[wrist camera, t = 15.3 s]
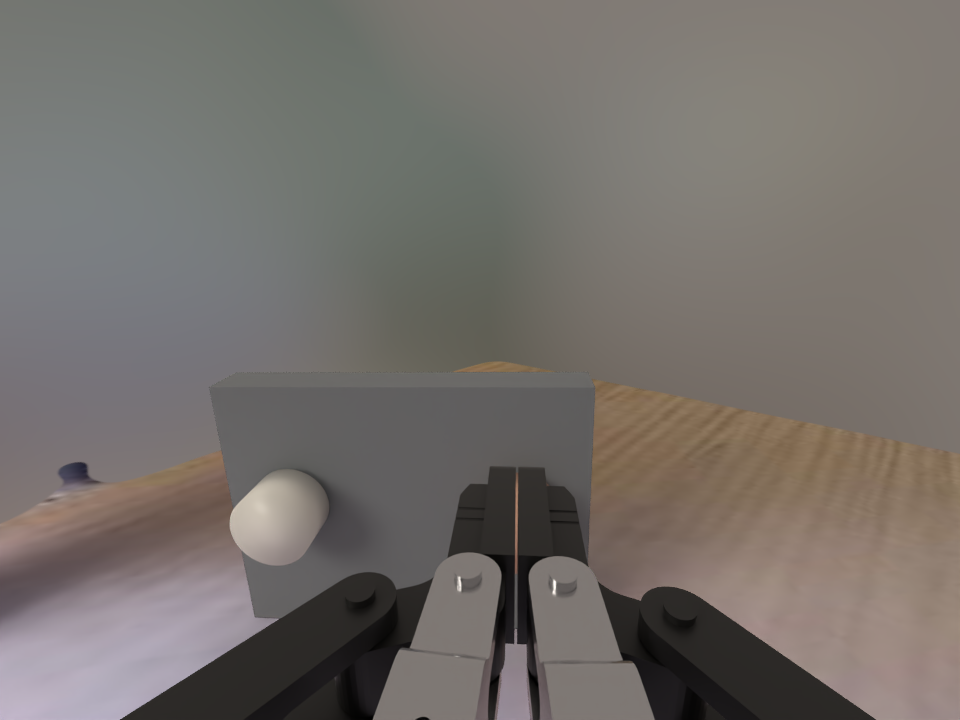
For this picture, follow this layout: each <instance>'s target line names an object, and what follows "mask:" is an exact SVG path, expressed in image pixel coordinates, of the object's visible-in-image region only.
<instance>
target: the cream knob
mask: <svg viewBox="0 0 960 720" xmlns="http://www.w3.org/2000/svg"><path fill="white" fill-rule="evenodd" d="M328 514H329V501H328V497H327V494H326V492H325V490H324V489H323V488H322V486H321V485H320V484H319V483H318V482H317V481H316V480H315V479H314V478H312V477H311V476H309V475H308V474H306V473H303V472H301V471H298V470H293V469H281V470H276V471H273V472H271V473H269V474H268V475H266V476H265V477H264V478H263V479H262V480H261V481H260V482H259V483H258V484H257V485H256V486H255V487H254V488H253V489H252V490H251V491H250V492H249V493H248V494H247V495H246V496H245V497H244V498H243V499H242V500H241V501H240V502H239V503H238V504H237V505H236V507H235V508H234V509H233V511H232V514H231V517H230V530H231V534H232V537H233V539H234V541H235V542H236V544H237V545H238V547H239V548H240V549H241V550H242V551H243V552H244V553H245V554H246V555H248V556H249V557H251V558H252V559H254V560H256V561H258V562H260V563H263V564H267V565H274V566H281V565H287V564H291V563H293V562H295V561H297V560H298V559H300V558H301V557H302V556H303V555H304V554H305V552H306V551H307V549H308V548H309V546H310V545H311V543H312V541H313V540H314V538H315V537H316V535H317V534H318V532H319V531H320V529H321V527H322V526H323V524H324V523H325V521H326V520H327V517H328Z"/></svg>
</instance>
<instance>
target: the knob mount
mask: <svg viewBox="0 0 960 720" xmlns="http://www.w3.org/2000/svg"><path fill="white" fill-rule="evenodd" d="M209 390H210V395H211V400H212V404H213V409H214V415H215V419H216V425H217V430H218V435H219V440H220V444H221V450H222V455H223V460H224V465H225V470H226V475H227V480H228V485H229V490H230V495H231V500H232V505H233V509H234V508H235V507H236V505H237V504H238V503H239V502H240V501H241V500H242V499H243V498H244V497H245V496H246V495H247V494H248V493H249V492H250V491H251V490H252V489H253V488H254V487H255V486H256V485H257V484H258V483H259V482H260V481H261V480H262V479H263V478H264V477H265V476H266V475H268V474H269V473H271V472H273V471H276V470H281V469H293V470H298V471H301V472H303V473H306V474H308V475H309V476H311V477H312V478H314V479H315V480H316V481H317V482H318V483H319V484H320V485H321V486H322V488H323V489H324V490H325V492H326V494H327V497H328V501H329V514H328V517H327V520H326V521H325V523H324V524H323V526H322V527H321V529H320V531H319V532H318V534H317V535H316V537H315V538H314V540H313V541H312V543H311V545H310V546H309V548H308V549H307V551H306V552H305V554H304V555H303V556H302V557H301V558H300V559H298V560H297V561H295V562H293V563H291V564H287V565H281V566H274V565H267V564H263V563H260V562H258V561H256V560H254V559H252V558H251V557H249V556H248V555H246V554H245V553H244V552H243V551H242V555H243V560H244V565H245V570H246V575H247V580H248V585H249V590H250V595H251V600H252V605H253V610H254V615H255V617H264V618H282V617H284V616H285V615H287V614H288V613H290V612H292V611H293V610H295V609H296V608H298V607H300V606H301V605H303V604H304V603H306V602H307V601H309V600H311V599H312V598H314V597H315V596H317V595H319V594H320V593H322V592H323V591H325V590H327V589H328V588H330V587H331V586H333V585H334V584H336V583H338V582H339V581H341V580H343V579H344V578H346V577H348V576H351V575H354V574H357V573H363V572H376V573H380V574H383V575H385V576H387V577H388V578H390V579H391V580H392V581H393V583H394V585H395V587H396V590H397V589H401V588H406V587H411V586H415V585H419V584H422V583H424V582H426V581H428V580H430V579H432V578H433V577H434V575H435V572H436V570H437V568H438V566H439V565H440V564H441V563H442V562H443V561H444V560H446V559H447V556H448V552H449V547H450V542H451V537H452V532H453V527H454V522H455V519H456V513H457V510H458V503H459V498H460V494H461V493H462V492H463V491H464V490H465V489H466V488H467V487H468V485H469V484H488V477H489V469H490V466H511V467H516V473H518V467H545V475H546V483H547V484H548V485H549V486H565V488H566V489H567V490H568V491H569V492H570V493H571V494H572V496H573V497H574V498H575V502H576V507H577V514H578V518H579V525H580V528H581V533H582V538H583V543H584V548H585V553H586V558H587V563H588V542H589V519H590V496H591V473H592V450H593V427H594V404H595V386H594V384H593V382H592V379H591V377H590V375H589V373H588V372H366V373H365V372H362V373H361V372H360V373H359V372H352V373H351V372H350V373H349V372H348V373H347V372H345V373H344V372H335V373H334V372H333V373H331V372H328V373H326V372H320V373H235V374H233V375H231V376H229V377H227V378H225V379H223V380H222V381H220V382H218V383H216V384H214V385H212V386H211V387H209ZM514 628H517V574H515V618H514Z"/></svg>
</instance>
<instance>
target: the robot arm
mask: <svg viewBox="0 0 960 720" xmlns="http://www.w3.org/2000/svg"><path fill="white" fill-rule="evenodd" d="M515 514H516V467H511V466H490V469H489V477H488V484H469V485H468V487H467V488H466V489H465V490H464V491H463V492H462V493H461V494H460V498H459V503H458V510H457V513H456V519H455V522H454V527H453V532H452V537H451V542H450V547H449V552H448V556H447V559H446V560H444V561H443V562H442V563H441V564H440V565H439V566H438V568H437V570H436V572H435V575H434V577H433V578H432V579H430V580H428V581H426V582H424V583H422V584H419V585H415V586H411V587H406V588H401V589H397V590H396V587H395V585H394V583H393V581H392V580H391V579H390V578H388V577H387V576H385V575H383V574H380V573H376V572H363V573H357V574H354V575H351V576H348V577H346V578H344V579H343V580H341V581H339V582H338V583H336V584H334V585H333V586H331V587H330V588H328V589H327V590H325V591H323V592H322V593H320V594H319V595H317V596H315V597H314V598H312V599H311V600H309V601H307V602H306V603H304V604H303V605H301V606H300V607H298V608H296V609H295V610H293V611H292V612H290V613H288V614H287V615H285V616H284V617H282V618H281V619H279V620H277V621H276V622H274V623H273V624H271V625H269V626H268V627H266V628H265V629H263V630H261V631H260V632H258V633H257V634H255V635H254V636H252V637H250V638H249V639H247V640H246V641H244V642H242V643H241V644H239V645H238V646H236V647H234V648H233V649H231V650H230V651H228V652H227V653H225V654H223V655H222V656H220V657H219V658H217V659H215V660H214V661H212V662H211V663H209V664H208V665H206V666H204V667H203V668H201V669H200V670H198V671H196V672H195V673H193V674H192V675H190V676H188V677H187V678H185V679H184V680H182V681H181V682H179V683H177V684H176V685H174V686H173V687H171V688H169V689H168V690H166V691H165V692H163V693H162V694H160V695H158V696H157V697H155V698H154V699H152V700H150V701H149V702H147V703H146V704H144V705H142V706H141V707H139V708H138V709H136V710H135V711H133V712H131V713H130V714H128V715H127V716H125V717H123V718H122V719H120V720H497V714H498V705H499V696H500V688H501V670H502V668H503V665H504V660H505V643H508V644H514V618H515ZM517 644H527V690H528V700H529V711H530V720H876V719H874V718H873V717H871V716H870V715H869V714H867V713H866V712H864V711H863V710H861V709H860V708H858V707H857V706H856V705H854V704H853V703H851V702H850V701H848V700H847V699H845V698H844V697H843V696H841V695H840V694H838V693H837V692H835V691H834V690H832V689H831V688H830V687H828V686H827V685H825V684H824V683H822V682H821V681H820V680H818V679H817V678H815V677H814V676H812V675H811V674H809V673H808V672H807V671H805V670H804V669H802V668H801V667H799V666H798V665H796V664H795V663H794V662H792V661H791V660H789V659H788V658H786V657H785V656H783V655H782V654H781V653H779V652H778V651H776V650H775V649H773V648H772V647H770V646H769V645H768V644H766V643H765V642H763V641H762V640H760V639H759V638H757V637H756V636H755V635H753V634H752V633H750V632H749V631H747V630H746V629H744V628H743V627H742V626H740V625H739V624H737V623H736V622H734V621H733V620H731V619H730V618H729V617H727V616H726V615H724V614H723V613H721V612H720V611H719V610H717V609H716V608H714V607H713V606H711V605H710V604H708V603H707V602H706V601H704V600H703V599H701V598H700V597H698V596H696V595H695V594H693V593H691V592H688V591H686V590H683V589H679V588H675V587H657V588H654V589H651V590H649V591H648V592H646V593H645V594H644V596H643V597H642V599H641V601H639V600H636V599H632V598H629V597H626V596H623V595H620V594H617V593H615V592H613V591H611V590H609V589H607V588H606V587H604V586H603V585H601V584H600V583H599V582H598V581H597V579H596V576H595V574H594V573H593V571H592V570H591V569H590V568H589V567H588V563H587V558H586V553H585V548H584V543H583V538H582V533H581V528H580V525H579V518H578V514H577V507H576V502H575V498H574V497H573V496H572V494H571V493H570V492H569V491H568V490H567V489H566V488H565V486H547V484H546V475H545V467H518V542H517Z"/></svg>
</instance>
